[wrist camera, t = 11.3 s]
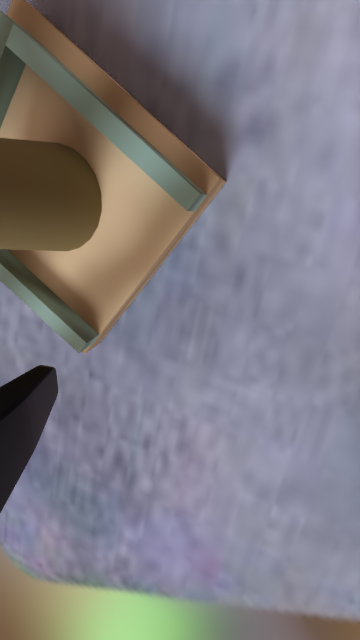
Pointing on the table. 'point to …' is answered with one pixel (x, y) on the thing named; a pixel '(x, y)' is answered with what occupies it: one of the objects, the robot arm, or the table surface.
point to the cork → (46, 196)
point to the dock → (112, 175)
